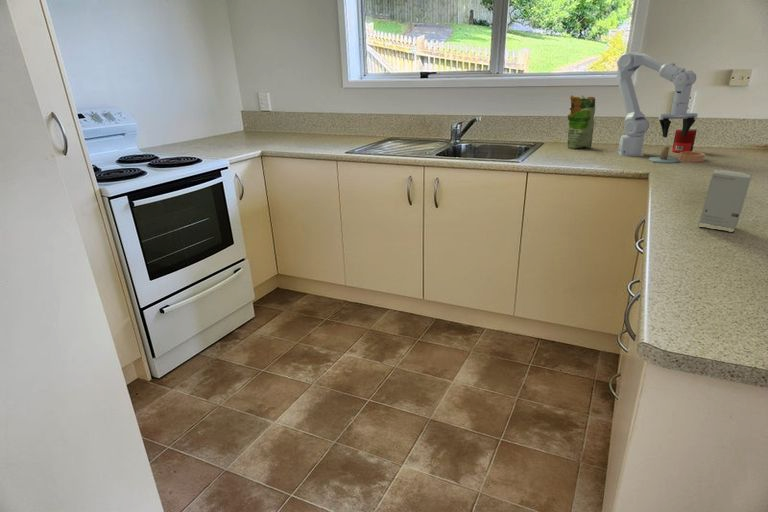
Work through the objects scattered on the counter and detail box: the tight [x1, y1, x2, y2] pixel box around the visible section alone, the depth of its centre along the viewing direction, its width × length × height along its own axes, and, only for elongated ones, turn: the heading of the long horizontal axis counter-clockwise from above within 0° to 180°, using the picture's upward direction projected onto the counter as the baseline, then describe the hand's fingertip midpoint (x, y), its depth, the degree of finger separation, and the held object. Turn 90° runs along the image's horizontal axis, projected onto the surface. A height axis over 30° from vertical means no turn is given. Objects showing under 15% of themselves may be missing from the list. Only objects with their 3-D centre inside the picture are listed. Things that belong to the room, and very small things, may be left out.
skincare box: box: [698, 169, 753, 230], centre depth 126 cm, size 8×6×15 cm
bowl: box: [677, 151, 706, 163], centre depth 203 cm, size 9×9×3 cm
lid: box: [648, 146, 680, 164], centre depth 203 cm, size 11×11×6 cm
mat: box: [647, 157, 681, 164], centre depth 204 cm, size 10×10×1 cm
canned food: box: [671, 126, 698, 154], centre depth 217 cm, size 8×8×11 cm
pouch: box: [567, 94, 596, 150], centre depth 235 cm, size 11×12×25 cm
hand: (674, 136), depth 202 cm, fingers open, 7 cm apart
